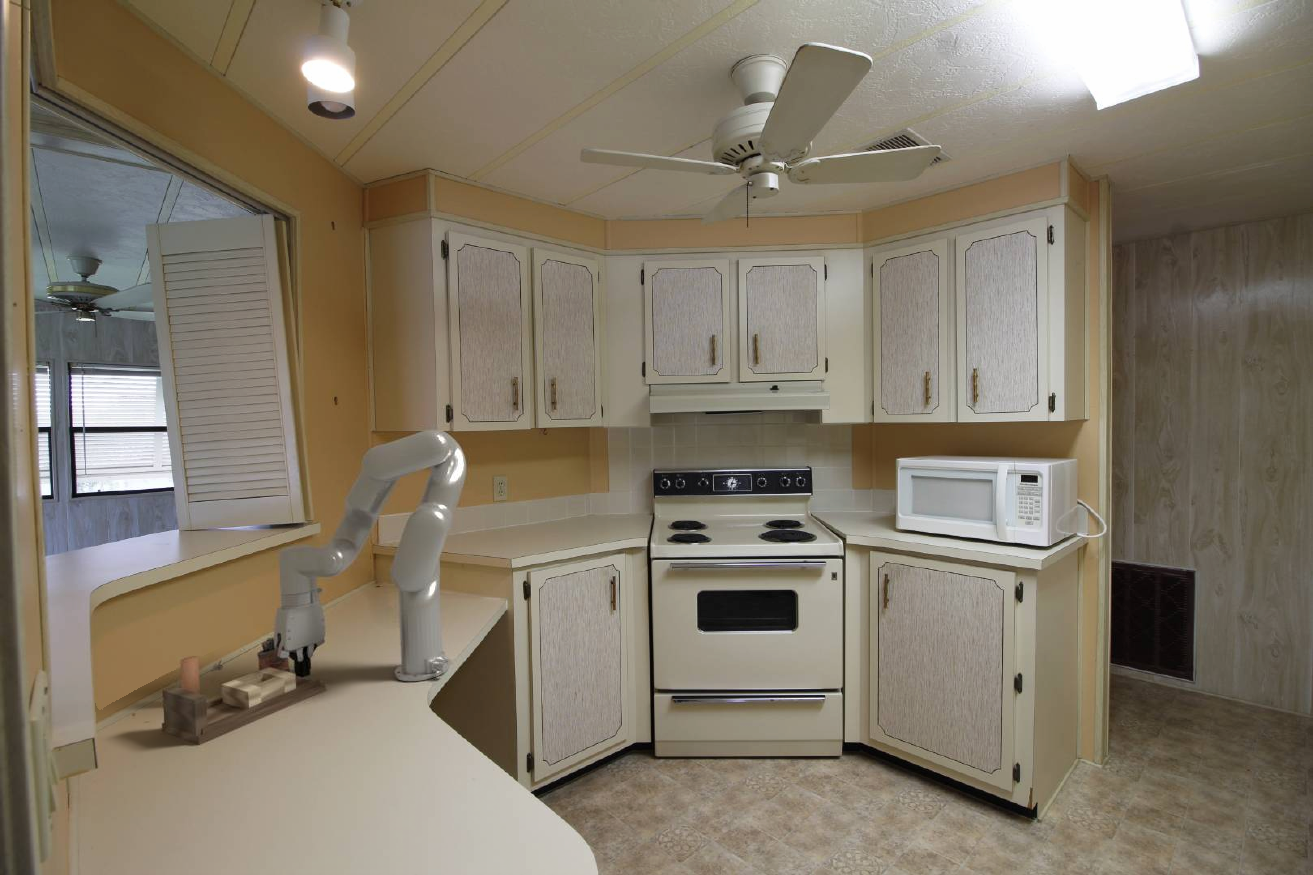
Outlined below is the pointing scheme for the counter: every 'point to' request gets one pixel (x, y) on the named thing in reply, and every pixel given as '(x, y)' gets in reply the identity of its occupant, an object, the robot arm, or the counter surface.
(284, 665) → the lighter
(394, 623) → the counter surface
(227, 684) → the block
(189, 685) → the dowel
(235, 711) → the rail board
